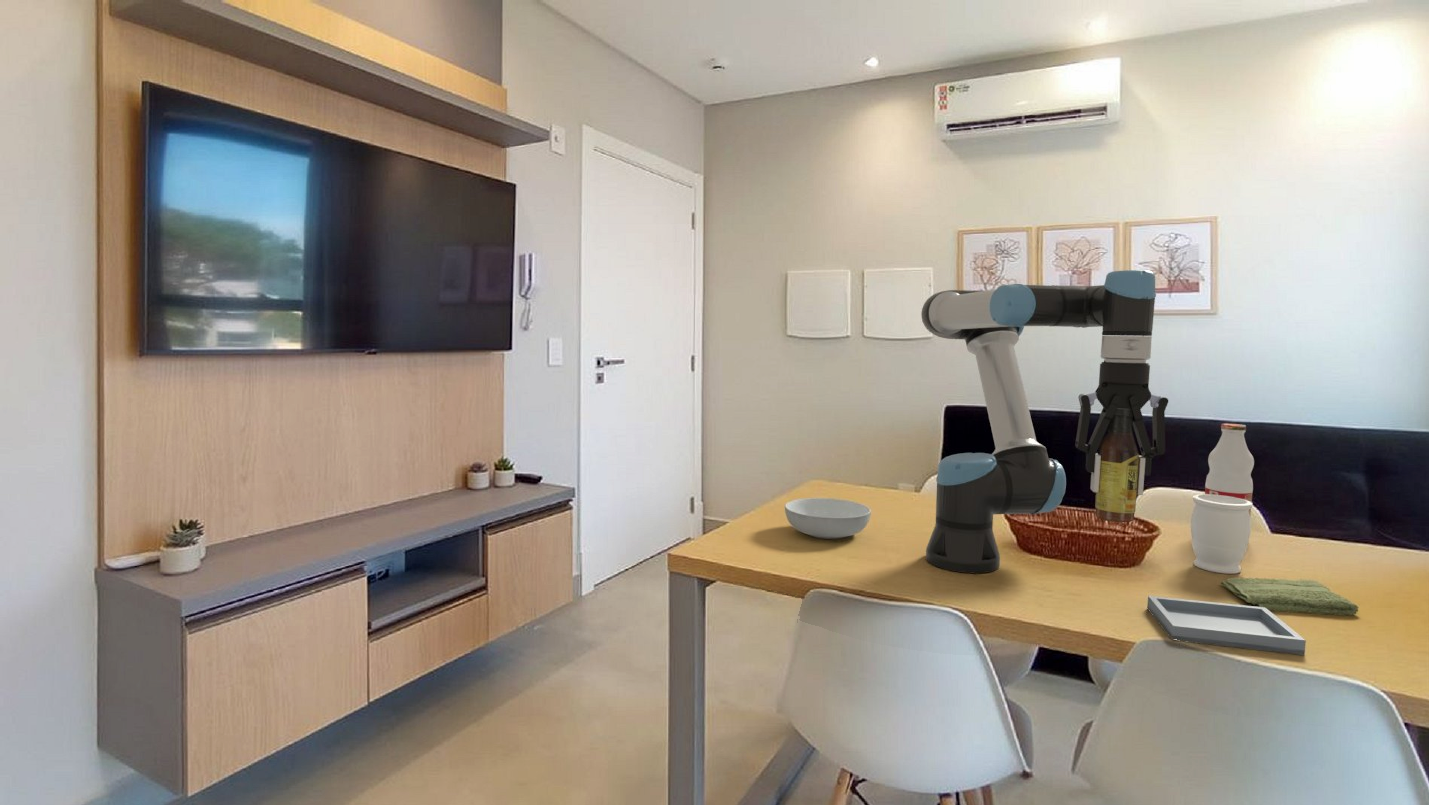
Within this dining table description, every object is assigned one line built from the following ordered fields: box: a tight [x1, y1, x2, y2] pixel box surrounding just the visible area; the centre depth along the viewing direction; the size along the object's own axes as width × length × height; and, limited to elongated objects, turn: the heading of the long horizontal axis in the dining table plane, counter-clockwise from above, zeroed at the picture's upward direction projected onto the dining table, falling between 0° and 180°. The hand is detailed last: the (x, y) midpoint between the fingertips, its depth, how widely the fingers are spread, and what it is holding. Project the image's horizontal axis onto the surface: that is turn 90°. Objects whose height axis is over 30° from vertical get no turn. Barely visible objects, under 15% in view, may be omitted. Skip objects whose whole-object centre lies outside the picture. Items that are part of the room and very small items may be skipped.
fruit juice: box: [1204, 423, 1255, 517], centre depth 175 cm, size 9×9×28 cm
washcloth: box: [1220, 577, 1359, 616], centre depth 134 cm, size 13×18×3 cm
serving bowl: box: [784, 497, 872, 540], centre depth 176 cm, size 21×21×7 cm
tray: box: [1146, 595, 1307, 656], centre depth 120 cm, size 18×14×2 cm
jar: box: [1190, 493, 1253, 575], centre depth 152 cm, size 11×10×15 cm
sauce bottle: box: [1094, 408, 1140, 524], centre depth 126 cm, size 7×6×20 cm
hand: (1116, 491), depth 126 cm, fingers closed on sauce bottle, 6 cm apart
